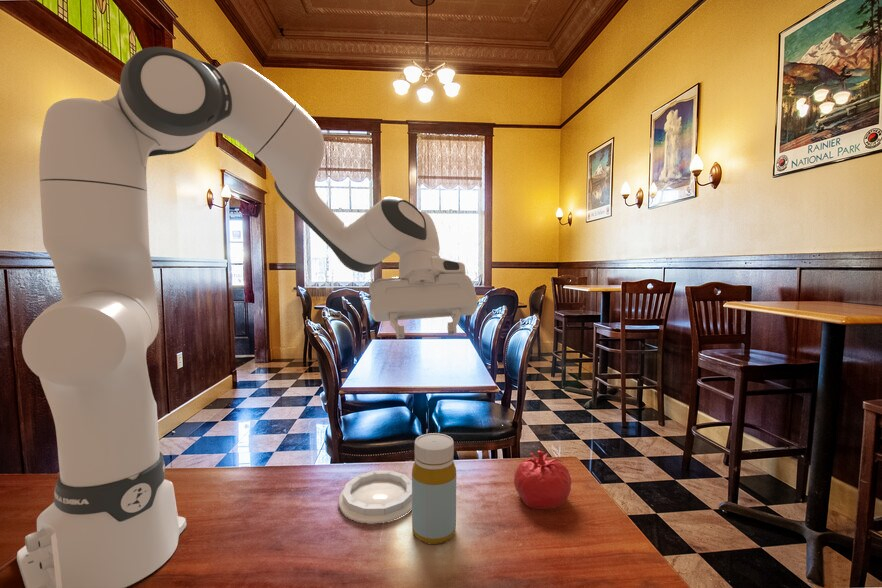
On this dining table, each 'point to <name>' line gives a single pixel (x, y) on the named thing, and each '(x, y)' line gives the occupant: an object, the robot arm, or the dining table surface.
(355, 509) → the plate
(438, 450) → the bottle
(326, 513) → the dining table surface
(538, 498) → the pomegranate
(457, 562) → the dining table surface
